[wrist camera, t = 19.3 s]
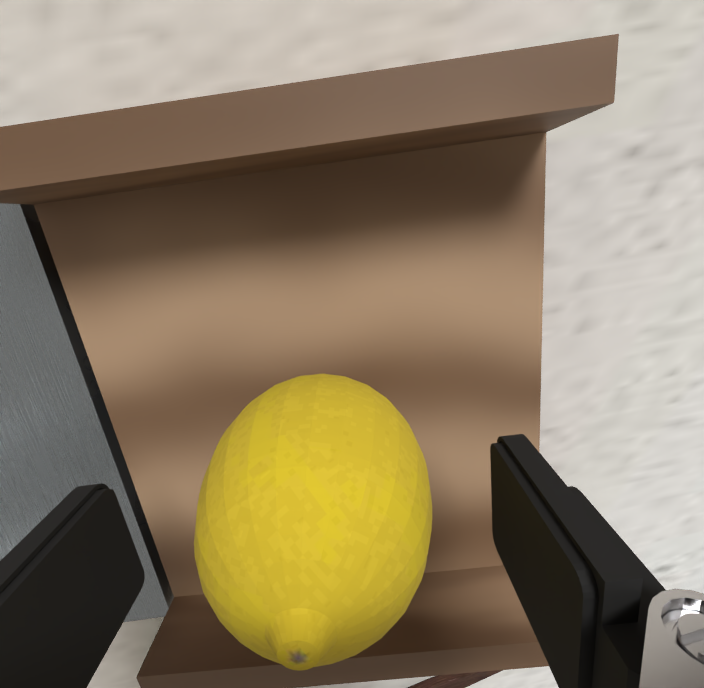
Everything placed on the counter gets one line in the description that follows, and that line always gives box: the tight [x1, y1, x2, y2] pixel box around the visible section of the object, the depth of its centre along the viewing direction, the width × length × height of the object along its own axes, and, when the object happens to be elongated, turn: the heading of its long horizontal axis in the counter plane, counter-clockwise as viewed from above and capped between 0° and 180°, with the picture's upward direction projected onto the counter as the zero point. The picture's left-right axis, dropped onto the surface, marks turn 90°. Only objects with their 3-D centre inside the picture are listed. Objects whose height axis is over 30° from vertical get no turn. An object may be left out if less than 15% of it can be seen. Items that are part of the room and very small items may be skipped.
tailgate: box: [0, 203, 174, 622], centre depth 15 cm, size 18×2×8 cm
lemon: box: [194, 374, 432, 670], centre depth 10 cm, size 6×6×8 cm
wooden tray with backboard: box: [0, 34, 619, 688], centre depth 13 cm, size 18×15×6 cm
